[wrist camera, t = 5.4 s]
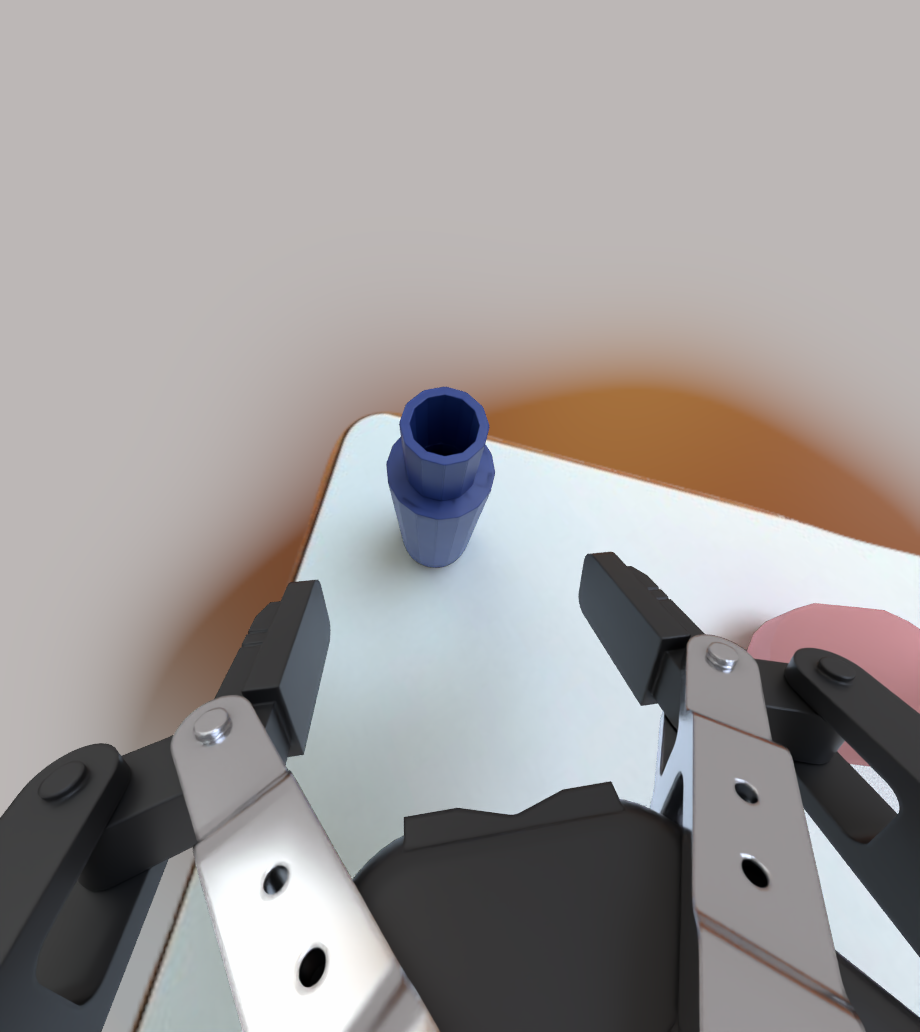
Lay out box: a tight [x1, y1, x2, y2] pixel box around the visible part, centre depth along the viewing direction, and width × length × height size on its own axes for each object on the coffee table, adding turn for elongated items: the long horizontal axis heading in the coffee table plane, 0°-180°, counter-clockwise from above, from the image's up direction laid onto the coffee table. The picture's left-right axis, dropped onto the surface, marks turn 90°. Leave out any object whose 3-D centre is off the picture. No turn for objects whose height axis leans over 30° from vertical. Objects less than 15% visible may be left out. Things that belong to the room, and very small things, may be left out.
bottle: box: [386, 387, 495, 568], centre depth 17 cm, size 4×4×13 cm
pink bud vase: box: [747, 603, 920, 766], centre depth 17 cm, size 8×8×12 cm
